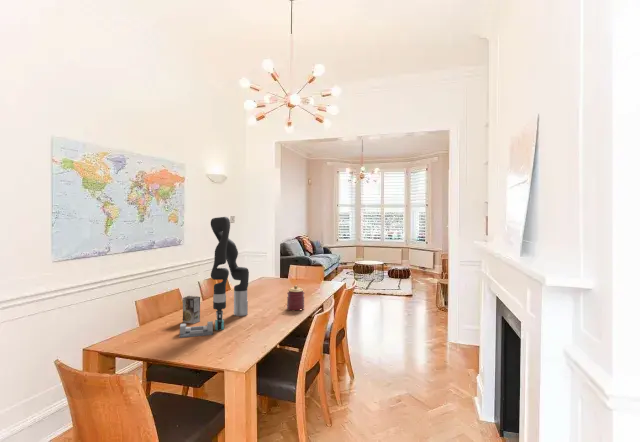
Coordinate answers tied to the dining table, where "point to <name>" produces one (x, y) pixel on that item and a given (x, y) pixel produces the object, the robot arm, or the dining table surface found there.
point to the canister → (295, 298)
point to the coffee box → (191, 309)
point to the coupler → (221, 324)
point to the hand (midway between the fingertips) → (219, 327)
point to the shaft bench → (196, 330)
